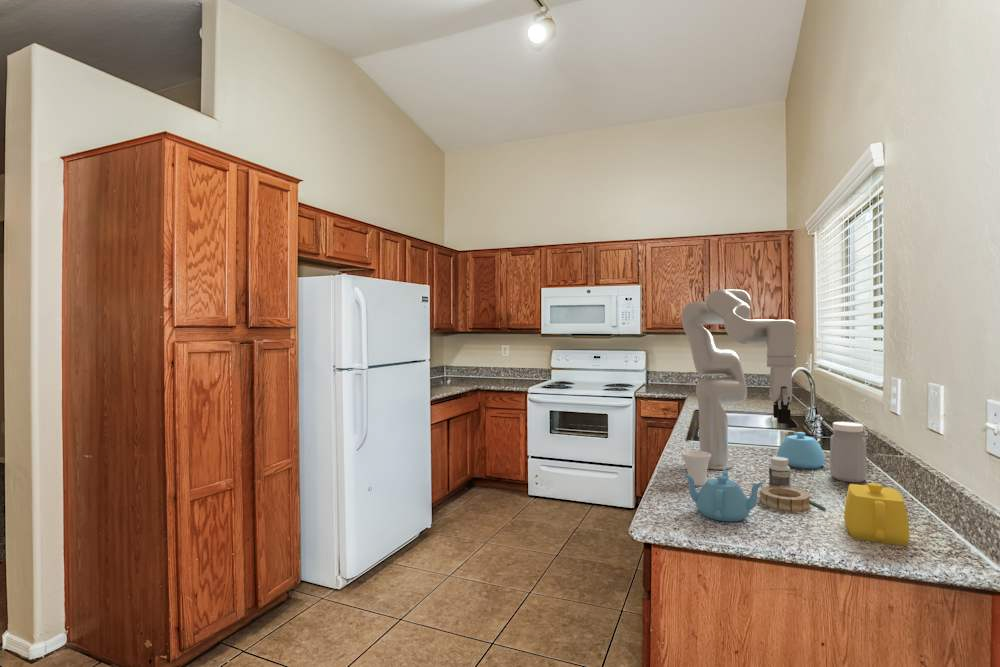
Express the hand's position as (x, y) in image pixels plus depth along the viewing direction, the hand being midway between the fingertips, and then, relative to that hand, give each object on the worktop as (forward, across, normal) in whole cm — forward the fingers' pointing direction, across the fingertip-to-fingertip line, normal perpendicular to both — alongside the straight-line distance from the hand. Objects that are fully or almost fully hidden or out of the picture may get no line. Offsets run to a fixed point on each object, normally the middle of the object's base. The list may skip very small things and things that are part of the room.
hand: (781, 420), depth 152 cm
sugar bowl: (+23, -44, +11) cm, 50 cm away
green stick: (+22, +3, +7) cm, 24 cm away
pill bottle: (+23, -6, 0) cm, 23 cm away
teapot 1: (+23, +20, -17) cm, 35 cm away
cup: (+23, -6, -24) cm, 33 cm away
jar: (+23, -28, +22) cm, 42 cm away
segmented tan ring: (+22, +6, 0) cm, 23 cm away
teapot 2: (+23, +21, +17) cm, 36 cm away
